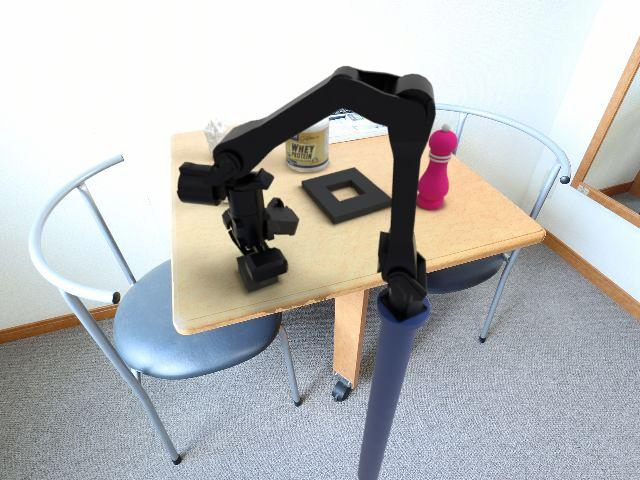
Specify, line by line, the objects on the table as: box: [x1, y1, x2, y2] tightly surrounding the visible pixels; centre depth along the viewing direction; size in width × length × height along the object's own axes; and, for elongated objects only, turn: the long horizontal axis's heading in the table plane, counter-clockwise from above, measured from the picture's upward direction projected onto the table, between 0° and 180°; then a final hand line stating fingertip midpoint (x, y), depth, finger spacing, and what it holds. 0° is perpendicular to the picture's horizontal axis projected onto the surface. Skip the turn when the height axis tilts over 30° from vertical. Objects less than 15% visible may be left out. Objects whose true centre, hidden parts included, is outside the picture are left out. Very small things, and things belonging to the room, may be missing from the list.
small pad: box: [235, 252, 280, 293], centre depth 70 cm, size 6×6×4 cm
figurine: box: [203, 117, 229, 156], centre depth 106 cm, size 7×7×12 cm
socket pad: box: [300, 166, 392, 225], centre depth 92 cm, size 18×16×2 cm
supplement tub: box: [284, 116, 330, 173], centre depth 101 cm, size 12×12×17 cm
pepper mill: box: [417, 122, 459, 211], centre depth 84 cm, size 7×7×20 cm
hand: (258, 273), depth 70 cm, fingers closed on small pad, 6 cm apart
